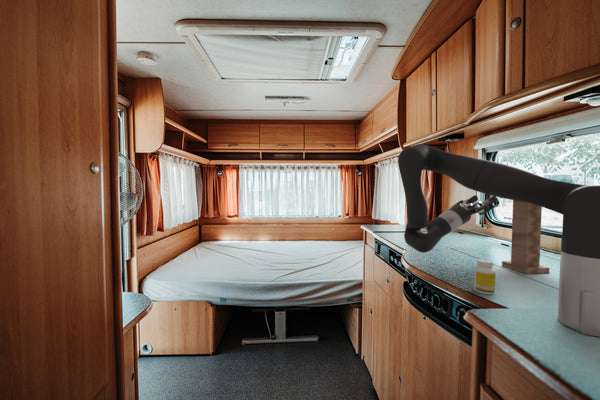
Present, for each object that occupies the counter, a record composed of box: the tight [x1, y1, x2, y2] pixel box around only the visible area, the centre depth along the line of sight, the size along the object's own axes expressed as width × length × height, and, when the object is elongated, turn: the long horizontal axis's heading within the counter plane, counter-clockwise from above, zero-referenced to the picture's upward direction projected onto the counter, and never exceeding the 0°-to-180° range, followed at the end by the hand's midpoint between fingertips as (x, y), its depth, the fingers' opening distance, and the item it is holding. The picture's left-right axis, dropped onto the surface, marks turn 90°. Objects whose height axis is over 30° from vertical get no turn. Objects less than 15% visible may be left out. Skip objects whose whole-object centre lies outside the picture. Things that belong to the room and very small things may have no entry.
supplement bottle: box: [473, 258, 496, 295], centre depth 76 cm, size 5×5×10 cm
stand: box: [501, 200, 550, 275], centre depth 98 cm, size 12×12×31 cm
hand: (485, 197), depth 95 cm, fingers open, 8 cm apart
